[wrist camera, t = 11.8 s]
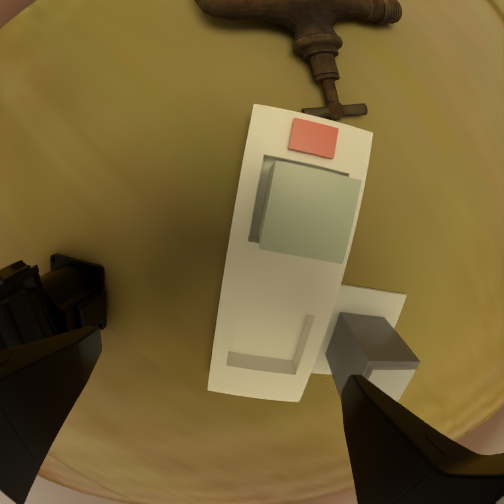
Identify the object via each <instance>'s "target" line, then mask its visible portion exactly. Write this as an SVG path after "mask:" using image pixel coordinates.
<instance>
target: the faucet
mask: <svg viewBox="0 0 504 504" xmlns="http://www.w3.org/2000/svg"><path fill="white" fill-rule="evenodd" d="M195 2H196V3H197V4H198V6H199V7H200V8H201V9H202V11H203V12H204V13H206V14H209V15H211V16H213V17H217V18H223V19H228V20H262V21H266V22H269V23H273V24H277V25H282V26H285V27H286V28H288V29H290V30H291V31H293V32H294V34H295V42H294V43H293V45H292V47H293V50H294V51H295V52H296V53H297V54H300V55H303V59H305V60H307V61H310V63H311V66H312V70H313V74H314V77H315V81H316V82H318V83H323V87H324V91H325V95H326V99H327V105H326V107H318V108H305V109H302V113H304V114H308V115H312V116H316V117H320V118H327V117H329V118H330V119H333V120H338V119H341V118H342V117H343V116H348V115H366V114H367V106H366V105H365V104H364V103H363V104H352V105H342V104H341V103H339V100H338V95H337V91H336V87H335V83H334V81H336V80H338V79H340V77H339V74H338V70H337V66H336V63H335V59H334V57H336V56H338V54H339V53H338V49H340V48H341V46H342V44H343V42H342V39H341V37H339V36H338V35H337V34H336V33H335V31H334V30H333V28H332V25H333V23H334V21H335V20H337V19H340V18H342V17H351V16H352V17H359V18H361V19H362V20H366V21H372V22H373V23H376V24H385V23H391V24H393V23H396V22H398V21H399V20H400V19H401V16H402V9H401V6H400V3H399V2H398V1H397V0H195Z"/></svg>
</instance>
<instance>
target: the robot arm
mask: <svg viewBox="0 0 504 504" xmlns="http://www.w3.org/2000/svg"><path fill="white" fill-rule="evenodd" d="M54 258H55V259H54ZM50 262H51V271H50V272H48V273H46V274H44V275H43V276H41V277H40V276H39V273H38V272H39V269H38V266H37V265H35V266H31V267H30V265H26V264H25V263H24V262H23V261H22V260H20V261H18V262H15V263H13V264H11V265H9V266H7V267H5V268H3V269H1V270H0V491H1V492H2V493H4V494H5V495H6V496H7V497H9V498H10V499H11V500H12V501H14V502H15V503H16V504H24V503H25V500H26V498H27V496H28V493H29V491H30V489H31V487H32V484H33V482H34V480H35V478H36V476H37V474H38V472H39V470H40V466H41V465H42V463H43V461H44V459H45V457H46V455H47V453H48V451H49V449H50V447H51V445H52V443H53V442H54V440H55V438H56V436H57V434H58V432H59V430H60V429H61V427H62V425H63V423H64V421H65V420H66V418H67V416H68V414H69V412H70V411H71V409H72V407H73V406H74V404H75V402H76V400H77V399H78V397H79V395H80V394H81V392H82V390H83V389H84V387H85V385H86V384H87V382H88V379H89V377H90V375H91V373H92V371H93V369H94V367H95V364H96V362H97V360H98V358H99V356H100V354H101V351H102V343H101V335H100V330H103V329H104V328H105V327H106V295H105V290H104V269H103V267H102V266H100V265H97V264H93V263H89V262H85V261H81V260H78V259H74V258H70V257H66V256H62V255H59V254H53V255H51V257H50ZM97 269H98V270H99V272H100V273H98V271H97ZM100 323H101V324H102V325H101V324H100ZM99 329H100V330H99ZM341 403H342V413H343V424H344V432H345V437H346V442H347V447H348V452H349V457H350V462H351V468H352V473H353V479H354V484H355V490H356V496H357V502H358V504H504V453H501V454H494V455H480V454H477V453H475V452H473V451H471V450H469V449H467V448H465V447H464V446H462V445H460V444H458V443H456V442H455V441H453V440H451V439H450V438H448V437H446V436H445V435H443V434H441V433H440V432H438V431H437V430H435V429H434V428H432V427H431V426H430V425H428V424H427V423H425V422H424V421H423V420H421V419H420V418H419V417H417V416H416V415H414V414H413V413H412V412H410V411H409V410H408V409H406V408H405V407H403V406H402V405H401V404H399V403H398V402H397V401H395V400H394V399H393V398H391V397H390V396H389V395H387V394H386V393H385V392H383V391H382V390H381V389H379V388H378V387H377V386H375V385H374V384H373V383H371V382H370V381H369V380H367V379H366V378H365V377H364V376H362V375H360V374H351V375H350V376H349V377H348V379H347V381H346V383H345V385H344V387H343V389H342V392H341Z"/></svg>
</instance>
